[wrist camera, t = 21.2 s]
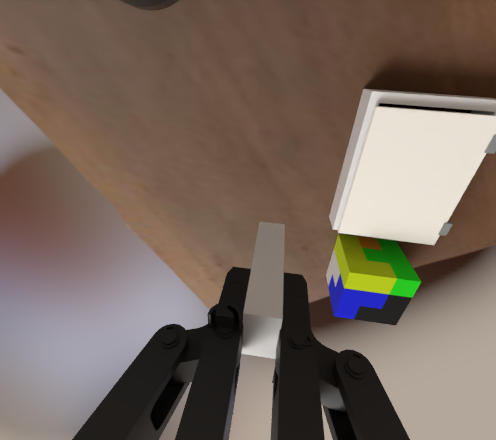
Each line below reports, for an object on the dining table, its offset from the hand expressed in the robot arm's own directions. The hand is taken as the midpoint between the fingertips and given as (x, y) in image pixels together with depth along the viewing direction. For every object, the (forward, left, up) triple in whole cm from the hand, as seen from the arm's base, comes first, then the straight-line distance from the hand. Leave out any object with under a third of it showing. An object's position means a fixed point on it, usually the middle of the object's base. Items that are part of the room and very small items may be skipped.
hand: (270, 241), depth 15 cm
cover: (+3, +18, -22) cm, 28 cm away
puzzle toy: (+21, +17, -27) cm, 38 cm away
